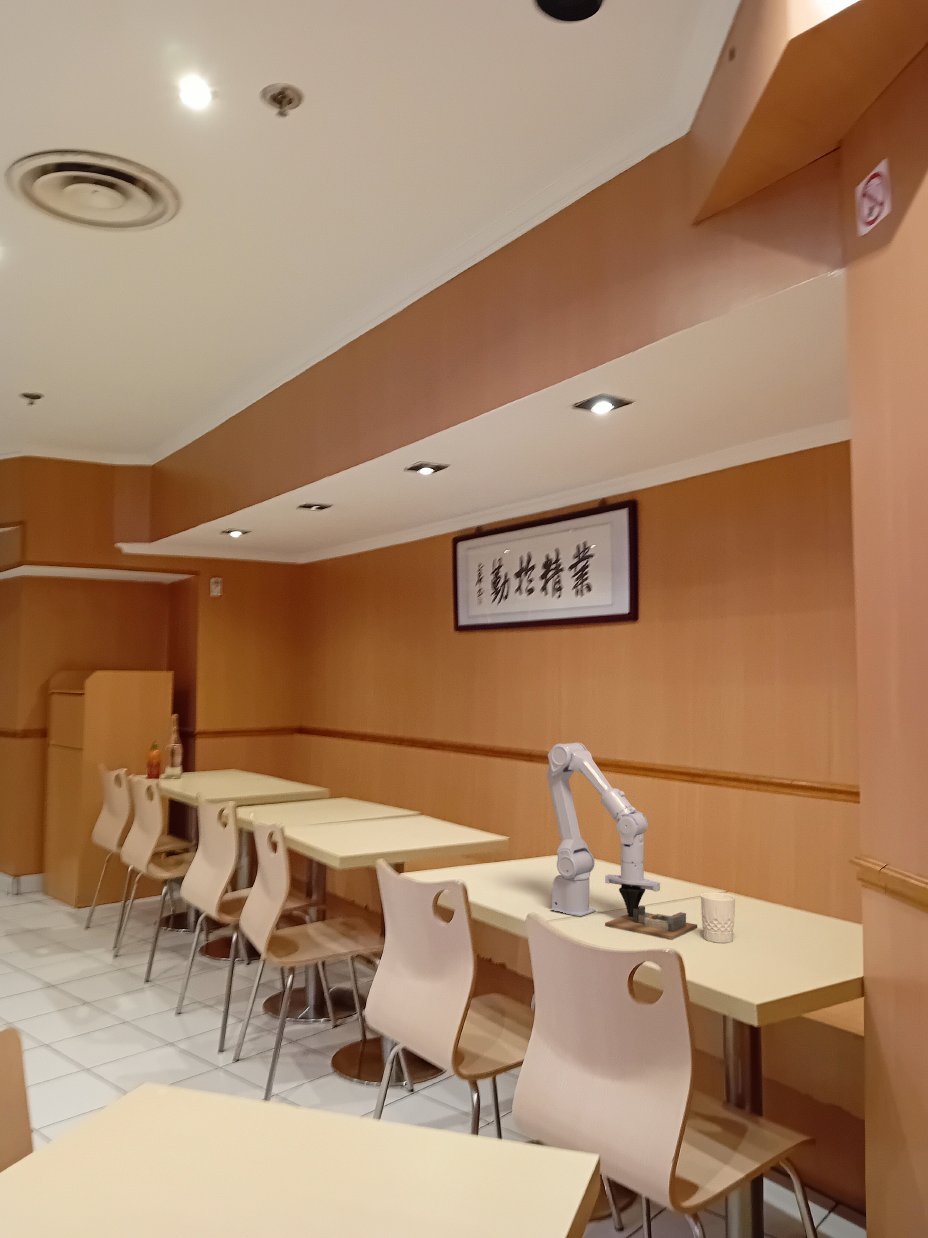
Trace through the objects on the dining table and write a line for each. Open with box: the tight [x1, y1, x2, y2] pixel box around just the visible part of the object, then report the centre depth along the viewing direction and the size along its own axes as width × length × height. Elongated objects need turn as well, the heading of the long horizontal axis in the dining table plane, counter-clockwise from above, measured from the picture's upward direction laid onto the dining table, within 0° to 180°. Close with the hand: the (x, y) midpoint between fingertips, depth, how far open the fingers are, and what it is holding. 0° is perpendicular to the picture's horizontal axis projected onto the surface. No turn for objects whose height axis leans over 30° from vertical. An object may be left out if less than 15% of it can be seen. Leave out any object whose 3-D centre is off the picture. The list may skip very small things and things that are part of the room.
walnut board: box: [604, 913, 698, 941], centre depth 224 cm, size 18×14×1 cm
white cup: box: [700, 892, 736, 944], centre depth 214 cm, size 8×8×10 cm
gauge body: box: [645, 911, 687, 932], centre depth 222 cm, size 8×7×3 cm
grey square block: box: [633, 905, 663, 924], centre depth 224 cm, size 6×6×3 cm
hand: (632, 916), depth 227 cm, fingers closed
